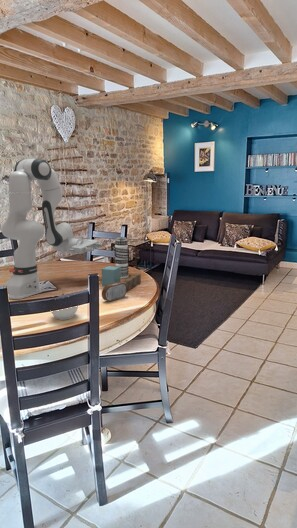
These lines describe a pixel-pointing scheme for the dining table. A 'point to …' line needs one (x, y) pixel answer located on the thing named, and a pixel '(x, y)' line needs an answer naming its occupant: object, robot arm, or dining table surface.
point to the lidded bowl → (64, 311)
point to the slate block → (110, 275)
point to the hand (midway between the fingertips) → (97, 247)
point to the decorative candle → (122, 256)
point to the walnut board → (132, 281)
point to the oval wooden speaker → (114, 291)
